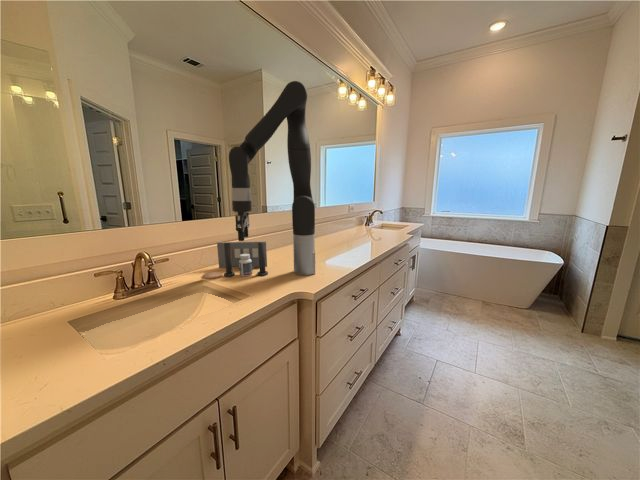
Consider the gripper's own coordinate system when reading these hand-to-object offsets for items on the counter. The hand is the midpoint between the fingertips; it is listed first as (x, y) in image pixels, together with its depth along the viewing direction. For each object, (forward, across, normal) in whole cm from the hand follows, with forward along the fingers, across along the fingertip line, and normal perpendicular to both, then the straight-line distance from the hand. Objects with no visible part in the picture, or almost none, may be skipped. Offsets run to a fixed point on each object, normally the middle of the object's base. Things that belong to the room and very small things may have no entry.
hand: (243, 238), depth 106 cm
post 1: (+16, 0, +7) cm, 17 cm away
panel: (+16, +12, +3) cm, 20 cm away
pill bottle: (+16, 0, 0) cm, 16 cm away
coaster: (+16, 0, +14) cm, 21 cm away
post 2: (+16, 0, -7) cm, 17 cm away
